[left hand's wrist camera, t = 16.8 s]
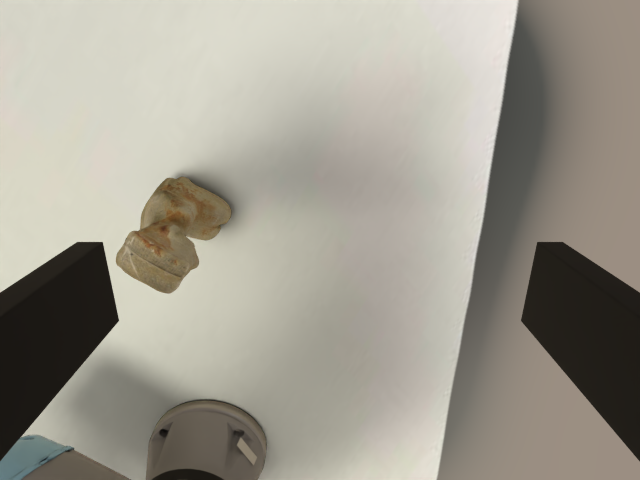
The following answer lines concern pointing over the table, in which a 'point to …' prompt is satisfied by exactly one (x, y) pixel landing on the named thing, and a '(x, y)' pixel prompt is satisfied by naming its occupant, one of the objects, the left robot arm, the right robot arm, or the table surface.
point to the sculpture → (171, 233)
